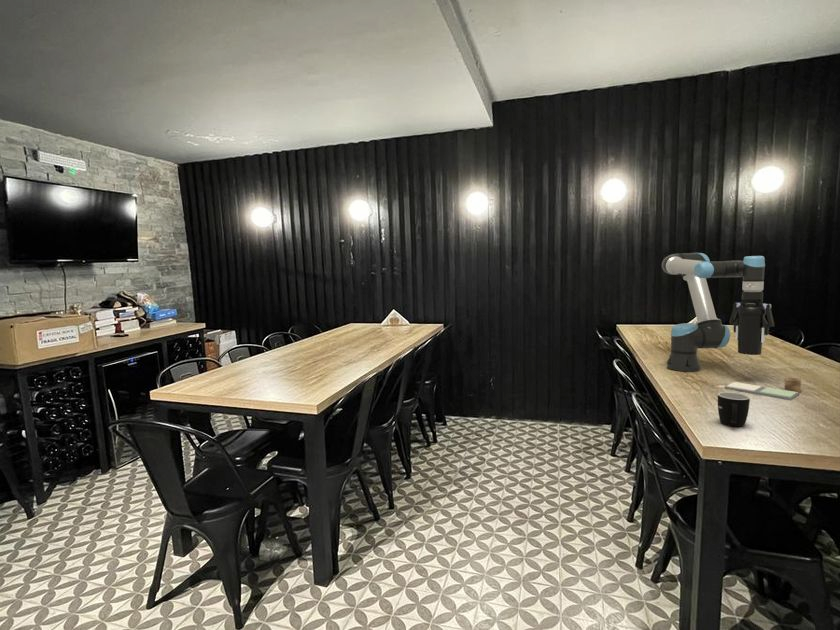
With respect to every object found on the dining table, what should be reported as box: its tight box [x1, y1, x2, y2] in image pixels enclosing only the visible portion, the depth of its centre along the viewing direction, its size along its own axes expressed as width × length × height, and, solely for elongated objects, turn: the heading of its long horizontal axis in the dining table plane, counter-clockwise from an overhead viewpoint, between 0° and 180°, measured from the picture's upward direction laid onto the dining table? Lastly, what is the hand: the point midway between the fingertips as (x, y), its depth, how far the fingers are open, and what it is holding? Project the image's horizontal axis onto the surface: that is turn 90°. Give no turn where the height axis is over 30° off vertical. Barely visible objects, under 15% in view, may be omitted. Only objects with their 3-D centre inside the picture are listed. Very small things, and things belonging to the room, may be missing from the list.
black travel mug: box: [737, 303, 767, 356], centre depth 198 cm, size 10×10×23 cm
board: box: [724, 381, 800, 401], centre depth 187 cm, size 23×11×1 cm, turn 36°
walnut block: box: [783, 376, 802, 394], centre depth 187 cm, size 5×5×5 cm
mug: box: [717, 391, 751, 428], centre depth 151 cm, size 12×9×10 cm
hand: (750, 340), depth 199 cm, fingers closed on black travel mug, 9 cm apart
